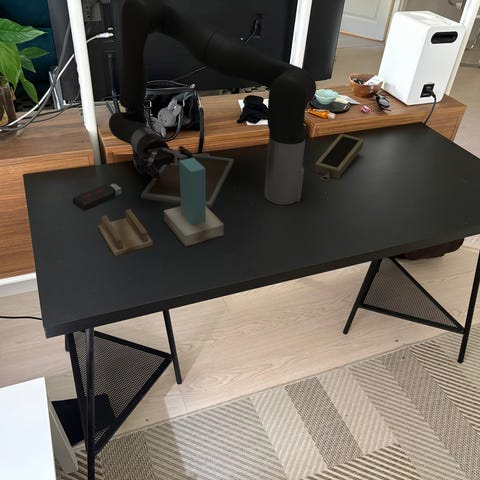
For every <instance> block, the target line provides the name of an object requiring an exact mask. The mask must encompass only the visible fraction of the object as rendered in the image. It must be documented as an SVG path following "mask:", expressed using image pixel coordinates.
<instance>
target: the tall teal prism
mask: <svg viewBox="0 0 480 480" xmlns="http://www.w3.org/2000/svg"><path fill="white" fill-rule="evenodd" d="M179 167H180V193H181V204H180V206H181V213H182V215H183V216H184V217H185V218H186V219H187V220H188V221H189V222H190V224H191V225H192V226H193V225H196V224H200V223H203V222H206V181H205V168H204V167H203V166H202V165H201V164H200V163H199V162H198V161H196V160H195V159H194V158H189V159H185V160H180V161H179Z"/></svg>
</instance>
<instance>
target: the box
mask: <svg viewBox="0 0 480 480" xmlns="http://www.w3.org/2000/svg"><path fill="white" fill-rule="evenodd" d="M364 141H365V139H363V138H360V137H356V136H355V137H354V136H352V135H347V134H344V133H340V134H339V135H338V136H337V137H336V138H335V140H334V141H333V142H332V143H331V144H330V146H329V147H328V148H327V149H326V150H325V152H324V153H323V154H322V155H321V156H320V157H319V159H318V160H317V161H316V162H315V164H314V166H315V167H314V168H315V169H314V170H315V172H314V173H317V174H321V175H323V176H320V178H319V179H320V181H321V182H324V183H329V182H330V179H331V178H332V179H333V178H334V179H337V180H339V179H340V178H341V176H342V175H343V173H344V172H345V171H346V170H347V169H348V167H349V166H350V164H351V163H352V162H353V160H354V159H355V158H356V157H357V155H358V154H359V153H360V152H361V150H362V149H363V146H364Z"/></svg>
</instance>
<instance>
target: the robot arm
mask: <svg viewBox="0 0 480 480" xmlns="http://www.w3.org/2000/svg"><path fill="white" fill-rule="evenodd" d="M120 14H121V16H120V17H121V19H120V22H121V23H120V25H121V26H120V27H121V46H122V47H121V48H122V49H121V52H122V56H121V57H122V71H121V79H120V80H121V81H120V87H119V95H118V103H119V104H120V106H121V107H123V108H124V109H126V110H129V111H117V112H114V113H113V114H111V116H110V117H109V121H108V127H109V130H110V132H111V134H112V135H113V136H114V137H115V138H116V139H118V140H120V141H122V142H123V143H126V144H129V145H130V146H131V147H132V148H133V150H134V152H135V153H136V155H135V154H134V155H133V156H132V158H133V159H132V161H133V166H134V167H135V169H136V170H137V172H138V173H139V174H140V175H145V173H147V174H149V175H150V176H151V177H152V178H156V179H160V172H159V170H160V169H158V167H162V166H163V165H168V164H170V165H175V166H177V165H179V161H180V158H182V160H185V159H189V158H192V154H193V152H191V151H189V150H188V149H187V148H186V147H184V146H183V145H179V146H178V149H173V148H170V146H169V145H168V142H166V141H165V140H164V139H163V138H162V137H161V136H160V135H159V134H157V132H155V131H154V130H152V128H150V127H149V126H148V125H147V124H148V123H147V118H146V108H145V102H146V94H147V91H148V90H147V89H148V73H147V69H146V65H145V60H144V59H145V58H144V54H145V53H144V51H145V48H146V44H147V43H146V42H147V41H148V37H149V35H153V34H155V33H158V34H161V35H165V36H167V37H169V38H170V39H174V40H175V41H177V42H179V43H180V44H181V45H182V46H184V48H185V49H186V50H187V51H188V52H189V53H190V55H191V56H192V57H193V58H194V59H195V60H196V61H197V62H198V63H200V64H201V65H203V66H205V67H206V68H208V69H210V70H212V71H214V72H215V73H218V74H220V75H222V76H225V77H228V78H229V77H230V78H233V79H239V80H243V81H249V82H254V83H256V84H258V85H261V86H263V87H266V89H269V91H268V96H267V97H268V99H267V127H268V130H269V133H268V146H267V156H266V157H267V158H266V159H267V160H266V172H265V182H264V183H265V184H264V198H265V199H266V200H267V201H268V202H270V203H271V204H275V205H281V206H282V205H284V206H285V205H292V204H294V203H297V202H301V197H302V191H303V189H302V188H303V182H304V174H305V167H304V166H303V163H304V156H305V149H306V141H307V133H308V130H307V128H308V127H307V126H306V125H305V115H306V107H307V105H308V104H309V103H310V102H311V101H312V100H313V99H314V97H315V95H316V94H317V93H316V92H317V84H316V81H315V78H314V76H313V75H311V73H310V72H309V71H308V70H306V69H304V68H302V67H300V66H297V65H294V64H291V63H289V62H286V61H283V60H281V59H278V58H277V57H273V56H271V55H269V54H267V53H265V52H263V51H261V50H260V49H258V48H256V47H255V46H252V45H250V44H249V43H248V42H245V41H243V40H241V39H239V38H237V36H234V35H232V34H230V33H228V32H226V31H225V30H222V29H220V28H218V27H216V26H214V25H212V24H210V23H208V22H205V21H203V20H202V19H199V18H198V17H195V16H193V15H191V14H189V13H187V12H185V11H184V10H183V9H181V8H179V7H178V6H176V5H175V4H173V3H172V2H170V1H169V0H125V1H124V2H123V4H122V8H121V13H120ZM174 157H175V161H173V159H174Z"/></svg>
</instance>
